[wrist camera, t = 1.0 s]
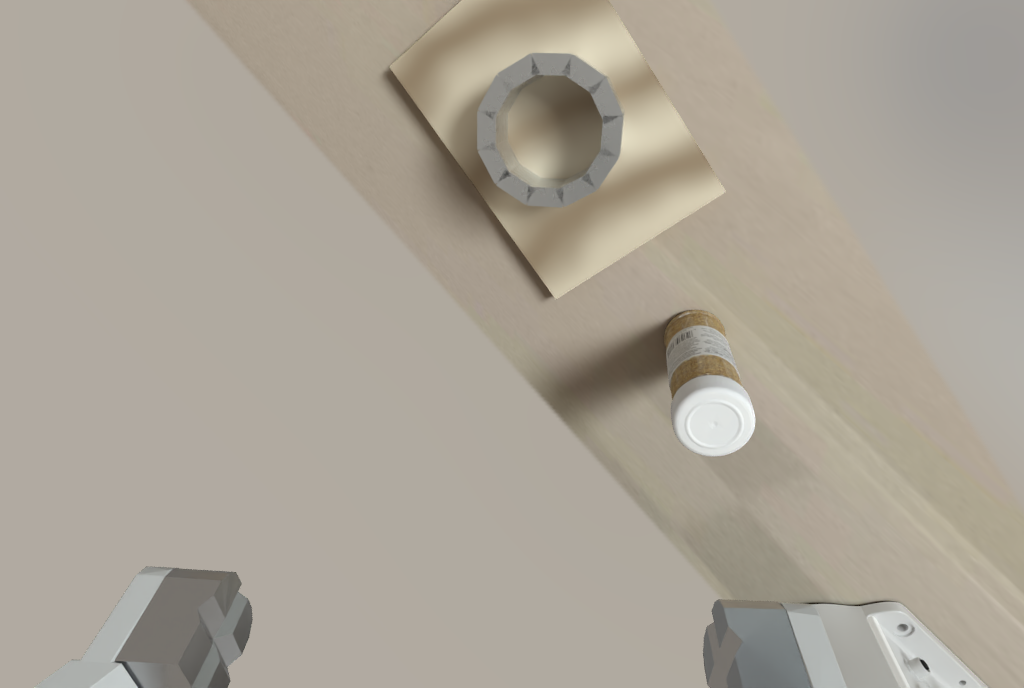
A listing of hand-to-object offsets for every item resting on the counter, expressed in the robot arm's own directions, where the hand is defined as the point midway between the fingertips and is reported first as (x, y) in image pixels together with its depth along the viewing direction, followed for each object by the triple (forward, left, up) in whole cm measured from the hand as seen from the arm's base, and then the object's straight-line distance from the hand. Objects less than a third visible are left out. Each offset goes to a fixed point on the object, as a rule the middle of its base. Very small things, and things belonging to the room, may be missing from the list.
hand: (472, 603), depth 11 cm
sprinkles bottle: (-12, +4, -38) cm, 40 cm away
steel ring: (+5, -3, -36) cm, 37 cm away
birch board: (+5, -3, -37) cm, 38 cm away
